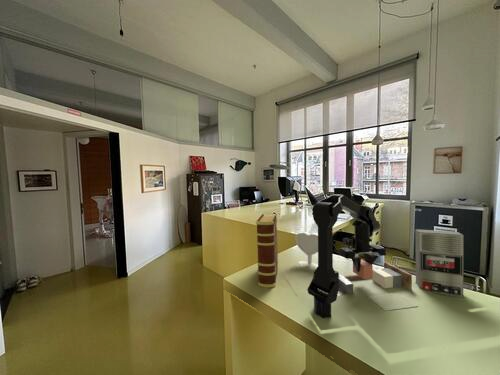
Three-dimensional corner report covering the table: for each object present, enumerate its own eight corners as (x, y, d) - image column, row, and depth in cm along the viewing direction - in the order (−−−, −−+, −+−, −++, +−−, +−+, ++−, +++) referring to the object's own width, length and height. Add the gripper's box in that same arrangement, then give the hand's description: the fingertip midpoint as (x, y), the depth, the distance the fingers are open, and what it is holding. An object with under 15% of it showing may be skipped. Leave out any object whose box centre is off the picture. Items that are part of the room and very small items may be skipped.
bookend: (353, 294, 82) (353, 283, 82) (337, 296, 81) (337, 285, 81) (340, 283, 91) (340, 273, 91) (325, 285, 90) (325, 275, 90)
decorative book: (275, 288, 91) (273, 221, 90) (257, 287, 92) (255, 221, 91) (278, 267, 113) (276, 213, 112) (263, 266, 114) (262, 213, 113)
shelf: (413, 292, 84) (413, 274, 84) (339, 301, 79) (339, 282, 79) (388, 278, 97) (388, 261, 97) (323, 285, 92) (322, 268, 92)
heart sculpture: (295, 263, 118) (294, 232, 117) (298, 260, 122) (297, 230, 121) (322, 269, 108) (322, 235, 108) (325, 265, 113) (324, 233, 112)
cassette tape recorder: (419, 292, 84) (419, 232, 83) (415, 285, 90) (414, 229, 89) (465, 300, 78) (465, 235, 77) (457, 292, 84) (457, 231, 83)
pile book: (418, 312, 73) (418, 306, 73) (385, 316, 71) (385, 310, 71) (396, 298, 82) (396, 292, 82) (367, 301, 80) (367, 296, 80)
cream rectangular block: (393, 288, 86) (393, 276, 86) (384, 289, 85) (384, 276, 85) (380, 280, 93) (380, 268, 93) (372, 281, 92) (372, 269, 92)
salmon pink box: (372, 278, 84) (372, 265, 84) (363, 279, 84) (363, 266, 84) (361, 270, 91) (360, 258, 91) (352, 271, 91) (352, 259, 91)
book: (402, 287, 87) (402, 275, 86) (393, 288, 86) (393, 275, 86) (388, 279, 94) (388, 268, 93) (380, 280, 93) (380, 268, 93)
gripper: (368, 229, 96) (368, 262, 97) (331, 232, 94) (332, 265, 94) (387, 235, 85) (387, 272, 86) (346, 238, 83) (346, 276, 83)
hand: (362, 271), depth 88 cm, fingers closed on salmon pink box, 4 cm apart
